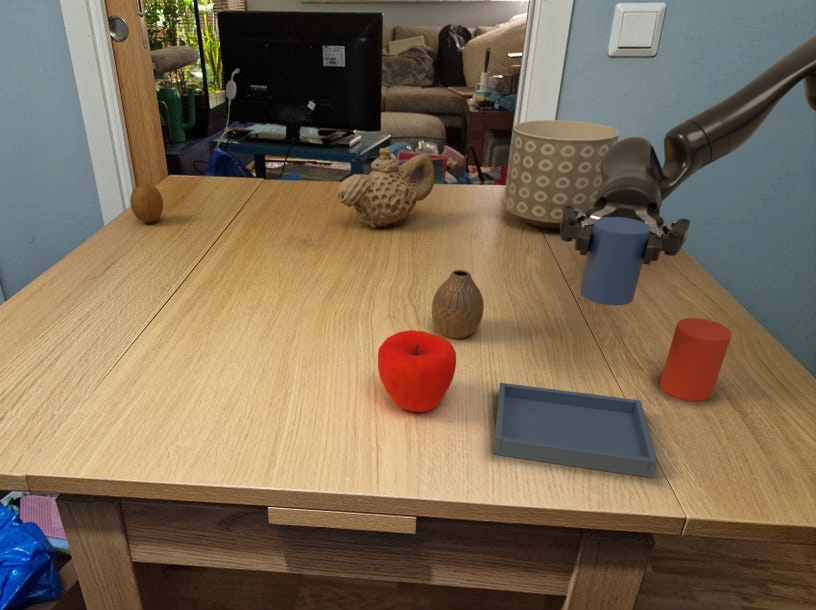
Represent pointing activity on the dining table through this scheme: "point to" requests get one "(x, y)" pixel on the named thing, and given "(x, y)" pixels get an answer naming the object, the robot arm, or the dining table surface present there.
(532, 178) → the planter
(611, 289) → the blue canister
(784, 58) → the robot arm
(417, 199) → the teapot
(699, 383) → the red canister
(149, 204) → the fruit
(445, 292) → the vase
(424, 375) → the apple
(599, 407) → the blue tray
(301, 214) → the dining table surface
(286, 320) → the dining table surface
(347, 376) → the dining table surface
